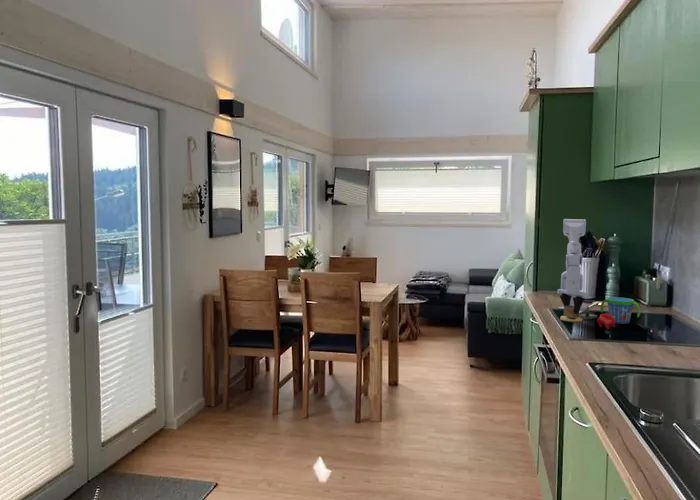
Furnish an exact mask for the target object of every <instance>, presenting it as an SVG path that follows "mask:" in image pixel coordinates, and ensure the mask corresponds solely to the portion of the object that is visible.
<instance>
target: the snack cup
mask: <svg viewBox="0 0 700 500" xmlns="http://www.w3.org/2000/svg"><path fill="white" fill-rule="evenodd" d="M601 302H602V304H601V307H600V312H601V313H602V314H604V307H603V304H604V303H605V302H607V303H608V307H607V308H608V314H609V315H611V316H612V317H613V318H614V319H615V324H619V325H625V324H626V325H627V324H629V323H630V321H631V316H632V311H633V307H634V305H635V306H636V308H637V314H636V317H637V318H639V317H640V316H641V307H640V305H639V303H638V302H636V301H635V300H634V299H632V298H627V297H617V296H616V297H615V296H614V297H612V296H611V297H608V298H607V297H606V299H604V300H602V301H601Z"/></svg>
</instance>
